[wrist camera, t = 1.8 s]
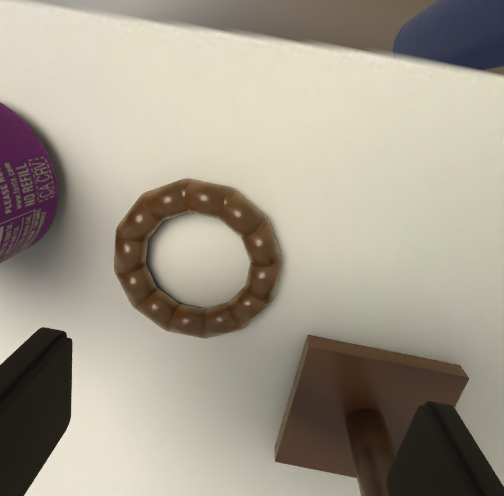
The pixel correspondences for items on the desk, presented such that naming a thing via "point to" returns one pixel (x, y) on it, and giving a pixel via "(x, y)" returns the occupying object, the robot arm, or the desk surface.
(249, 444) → the desk surface
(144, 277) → the ring
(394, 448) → the peg post
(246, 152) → the desk surface
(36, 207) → the beverage can
